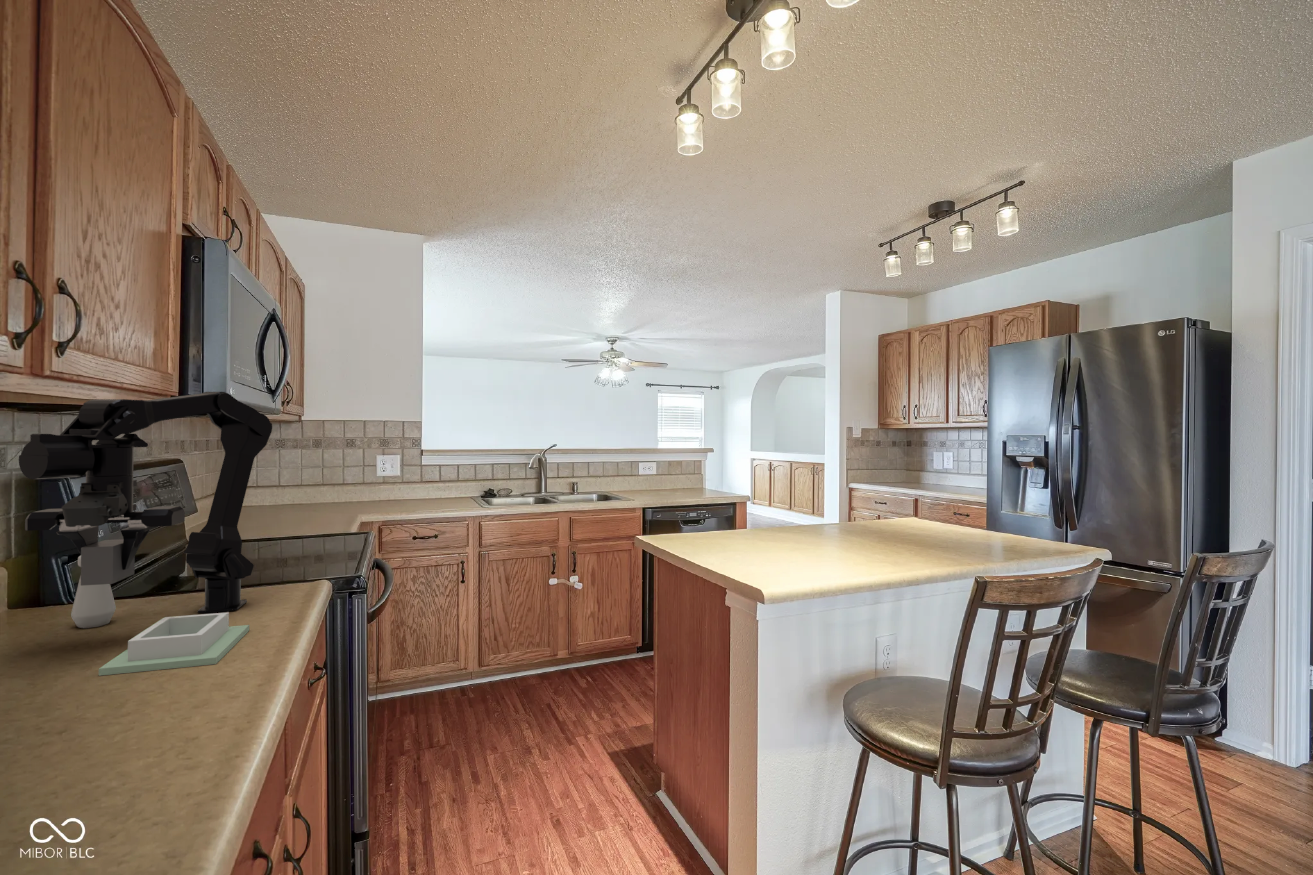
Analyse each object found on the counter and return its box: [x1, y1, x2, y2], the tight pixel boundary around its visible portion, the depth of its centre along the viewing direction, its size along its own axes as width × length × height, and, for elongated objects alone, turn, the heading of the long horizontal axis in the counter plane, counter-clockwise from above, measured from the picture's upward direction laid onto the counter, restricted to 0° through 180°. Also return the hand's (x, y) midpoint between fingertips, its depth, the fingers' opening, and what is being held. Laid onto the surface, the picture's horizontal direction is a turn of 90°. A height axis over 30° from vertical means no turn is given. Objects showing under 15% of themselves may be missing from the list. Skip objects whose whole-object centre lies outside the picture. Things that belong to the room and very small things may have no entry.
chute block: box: [80, 539, 136, 586], centre depth 96 cm, size 7×4×6 cm, turn 20°
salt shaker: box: [70, 554, 117, 629], centre depth 105 cm, size 6×6×13 cm
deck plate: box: [98, 611, 250, 677], centre depth 93 cm, size 16×14×4 cm
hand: (108, 570), depth 96 cm, fingers closed on chute block, 4 cm apart
